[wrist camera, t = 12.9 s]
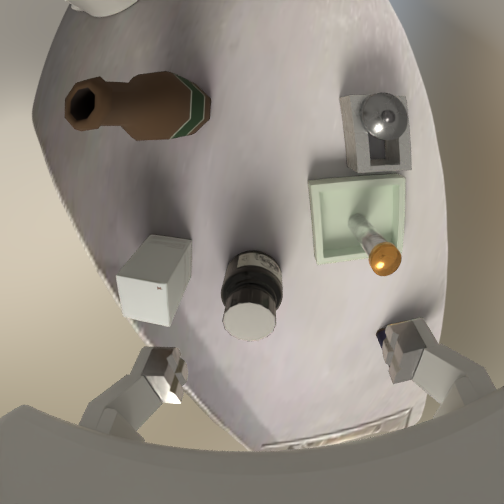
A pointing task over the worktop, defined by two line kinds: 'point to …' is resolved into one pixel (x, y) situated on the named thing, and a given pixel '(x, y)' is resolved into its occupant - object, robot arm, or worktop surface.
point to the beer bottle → (139, 106)
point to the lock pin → (375, 246)
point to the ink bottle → (251, 295)
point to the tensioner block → (376, 131)
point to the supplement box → (155, 279)
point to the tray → (351, 202)
